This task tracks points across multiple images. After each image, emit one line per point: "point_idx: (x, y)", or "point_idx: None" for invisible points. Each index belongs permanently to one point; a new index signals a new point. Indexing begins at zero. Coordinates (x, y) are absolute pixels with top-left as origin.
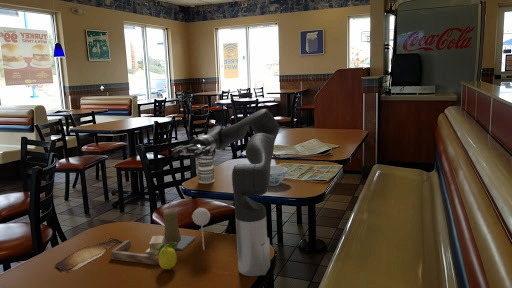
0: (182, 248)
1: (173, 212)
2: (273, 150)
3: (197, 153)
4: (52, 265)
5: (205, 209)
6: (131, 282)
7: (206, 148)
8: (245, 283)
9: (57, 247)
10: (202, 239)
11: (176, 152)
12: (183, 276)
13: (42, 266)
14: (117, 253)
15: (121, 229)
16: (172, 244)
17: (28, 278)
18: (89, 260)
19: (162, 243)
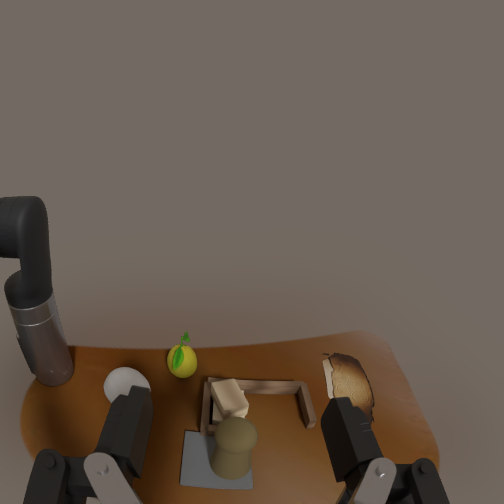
0: (186, 431)
1: (223, 425)
2: None
3: (123, 398)
4: (360, 360)
5: (111, 377)
6: (220, 348)
7: (45, 464)
8: (69, 345)
9: (409, 389)
10: None
11: (335, 419)
12: (152, 361)
13: (368, 355)
14: (290, 381)
15: None
16: (175, 354)
17: (352, 338)
18: (328, 378)
19: (214, 393)
